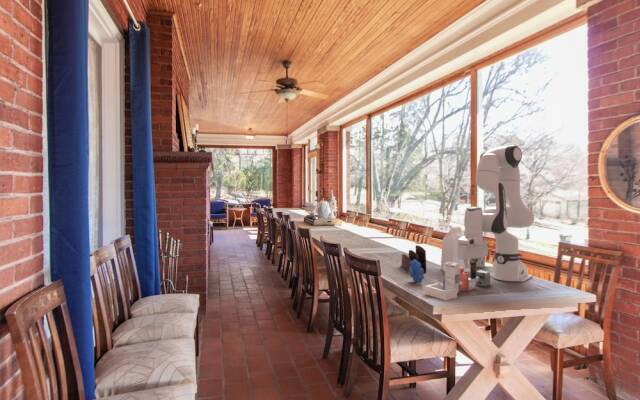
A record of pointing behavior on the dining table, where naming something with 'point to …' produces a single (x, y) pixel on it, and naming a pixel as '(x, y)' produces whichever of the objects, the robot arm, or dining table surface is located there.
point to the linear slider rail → (465, 279)
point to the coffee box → (477, 260)
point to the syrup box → (451, 276)
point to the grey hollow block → (485, 280)
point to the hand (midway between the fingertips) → (472, 266)
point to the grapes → (416, 271)
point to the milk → (452, 248)
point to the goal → (440, 292)
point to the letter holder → (418, 256)
